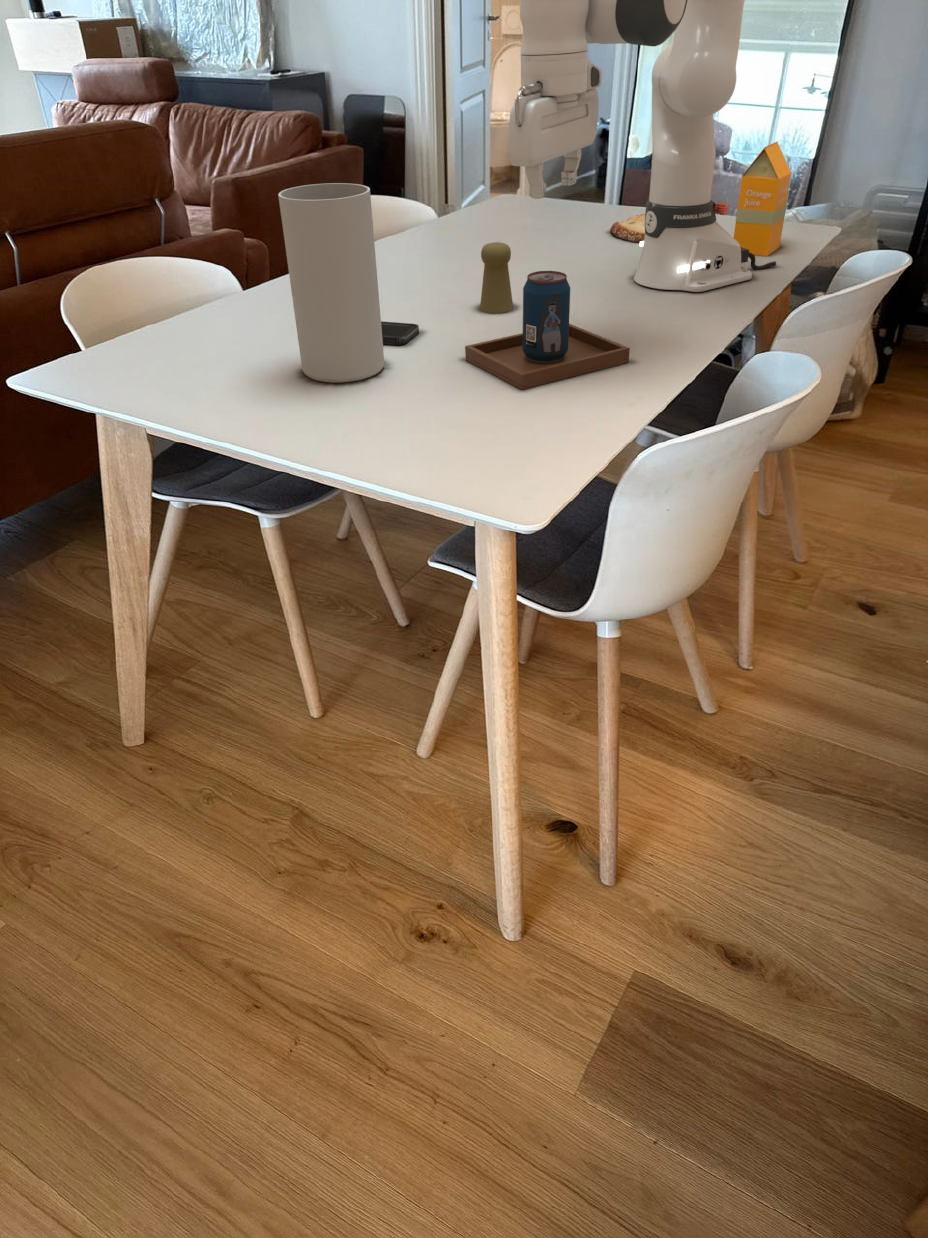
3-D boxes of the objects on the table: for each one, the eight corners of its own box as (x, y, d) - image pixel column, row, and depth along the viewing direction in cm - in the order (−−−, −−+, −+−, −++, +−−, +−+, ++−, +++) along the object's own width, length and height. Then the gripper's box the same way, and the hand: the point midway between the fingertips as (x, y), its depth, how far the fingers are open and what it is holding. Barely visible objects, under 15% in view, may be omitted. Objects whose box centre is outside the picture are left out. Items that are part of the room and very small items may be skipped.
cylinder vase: (351, 389, 131) (331, 203, 117) (285, 375, 136) (259, 196, 122) (400, 363, 139) (388, 186, 125) (337, 351, 145) (318, 180, 131)
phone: (403, 338, 145) (319, 331, 150) (403, 345, 146) (320, 338, 150) (420, 324, 152) (340, 317, 156) (421, 330, 152) (340, 324, 156)
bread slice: (700, 244, 196) (702, 226, 194) (617, 247, 197) (618, 228, 194) (685, 226, 211) (687, 209, 209) (607, 229, 211) (608, 211, 209)
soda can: (543, 346, 142) (544, 266, 135) (577, 355, 138) (580, 274, 131) (513, 357, 138) (513, 276, 131) (547, 367, 134) (549, 284, 127)
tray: (567, 336, 148) (568, 322, 147) (628, 362, 137) (629, 347, 136) (465, 359, 140) (464, 345, 139) (521, 389, 129) (521, 374, 128)
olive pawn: (510, 313, 159) (510, 247, 153) (476, 312, 160) (475, 247, 154) (515, 303, 164) (515, 239, 158) (483, 302, 165) (481, 239, 159)
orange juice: (780, 246, 193) (797, 141, 181) (767, 256, 187) (784, 147, 175) (744, 243, 196) (758, 139, 185) (730, 252, 190) (744, 145, 179)
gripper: (538, 86, 112) (539, 207, 120) (607, 70, 126) (604, 178, 134) (494, 87, 115) (498, 204, 123) (566, 70, 129) (565, 177, 137)
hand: (554, 191), depth 128 cm, fingers open, 8 cm apart
